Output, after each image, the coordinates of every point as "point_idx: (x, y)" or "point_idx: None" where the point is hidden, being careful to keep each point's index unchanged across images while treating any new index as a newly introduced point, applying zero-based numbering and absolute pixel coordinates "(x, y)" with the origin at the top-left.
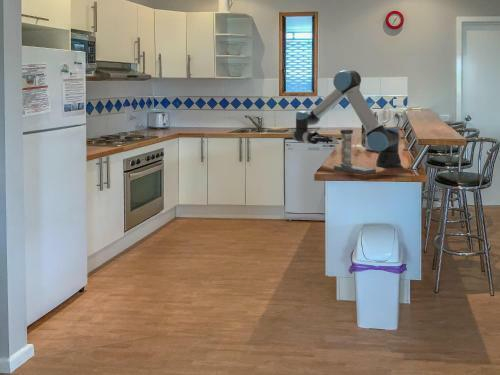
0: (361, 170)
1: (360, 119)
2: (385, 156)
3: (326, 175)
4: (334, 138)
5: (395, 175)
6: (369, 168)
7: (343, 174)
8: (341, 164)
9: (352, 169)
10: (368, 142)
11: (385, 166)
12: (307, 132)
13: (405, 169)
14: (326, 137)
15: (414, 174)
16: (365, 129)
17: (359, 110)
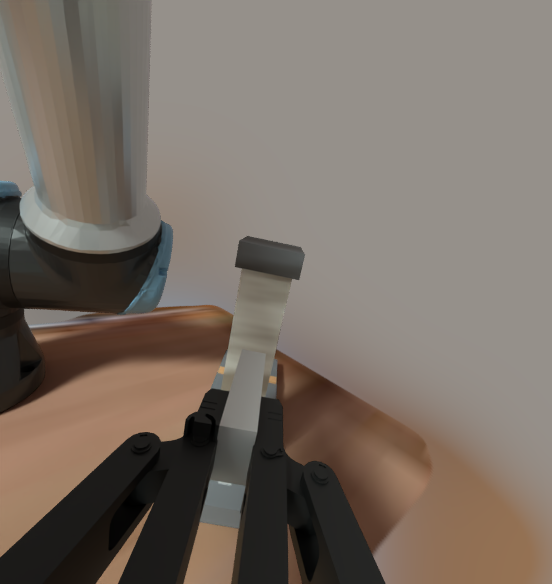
0: (276, 368)
1: (127, 137)
2: (27, 337)
3: (407, 434)
4: (251, 371)
5: (231, 327)
6: (224, 364)
7: (335, 406)
8: None
9: (275, 397)
10: (164, 284)
11: (43, 376)
12: None
13: (99, 331)
14: (188, 543)
15: (189, 311)
16: (114, 214)
17: (149, 56)
